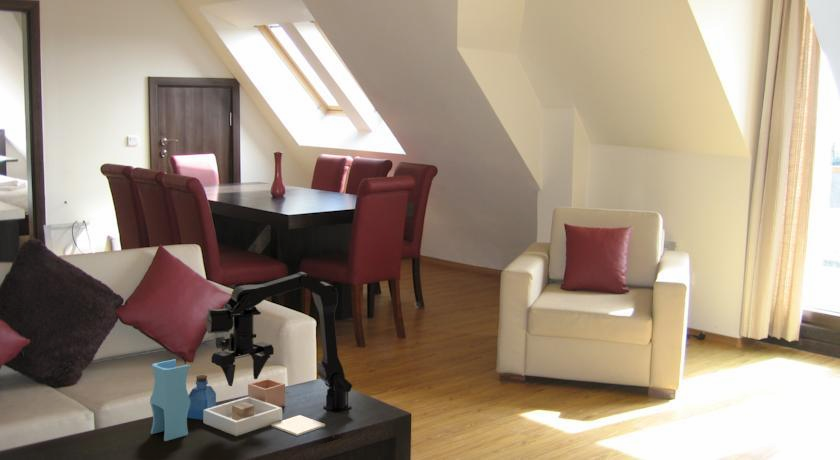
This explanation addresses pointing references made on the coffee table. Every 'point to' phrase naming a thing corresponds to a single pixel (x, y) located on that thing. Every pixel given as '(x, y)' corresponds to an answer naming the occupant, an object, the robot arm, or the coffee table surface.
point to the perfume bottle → (201, 398)
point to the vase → (170, 400)
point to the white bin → (262, 418)
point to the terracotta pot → (268, 392)
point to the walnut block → (242, 411)
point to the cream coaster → (298, 425)
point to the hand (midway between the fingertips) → (243, 382)
